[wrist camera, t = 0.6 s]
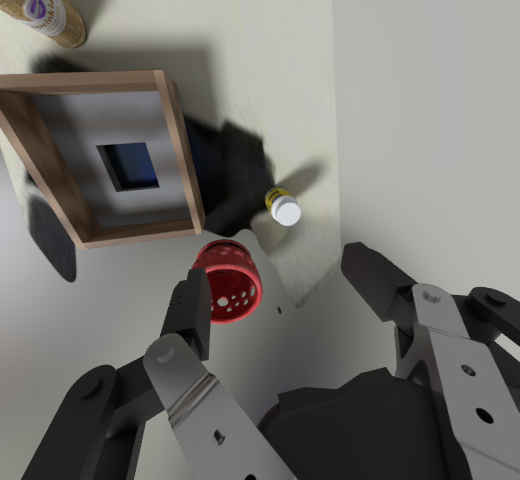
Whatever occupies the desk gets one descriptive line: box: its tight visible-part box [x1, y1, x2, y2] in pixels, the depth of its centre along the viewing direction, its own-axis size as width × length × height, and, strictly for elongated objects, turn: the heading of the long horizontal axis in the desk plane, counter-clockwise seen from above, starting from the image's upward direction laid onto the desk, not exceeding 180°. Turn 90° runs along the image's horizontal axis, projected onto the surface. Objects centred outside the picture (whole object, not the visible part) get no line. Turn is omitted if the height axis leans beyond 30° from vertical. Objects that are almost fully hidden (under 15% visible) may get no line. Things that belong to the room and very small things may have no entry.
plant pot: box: [192, 239, 263, 324], centre depth 37 cm, size 13×13×12 cm
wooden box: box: [0, 70, 205, 250], centre depth 27 cm, size 20×18×7 cm
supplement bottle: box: [265, 187, 301, 226], centre depth 34 cm, size 5×5×8 cm
